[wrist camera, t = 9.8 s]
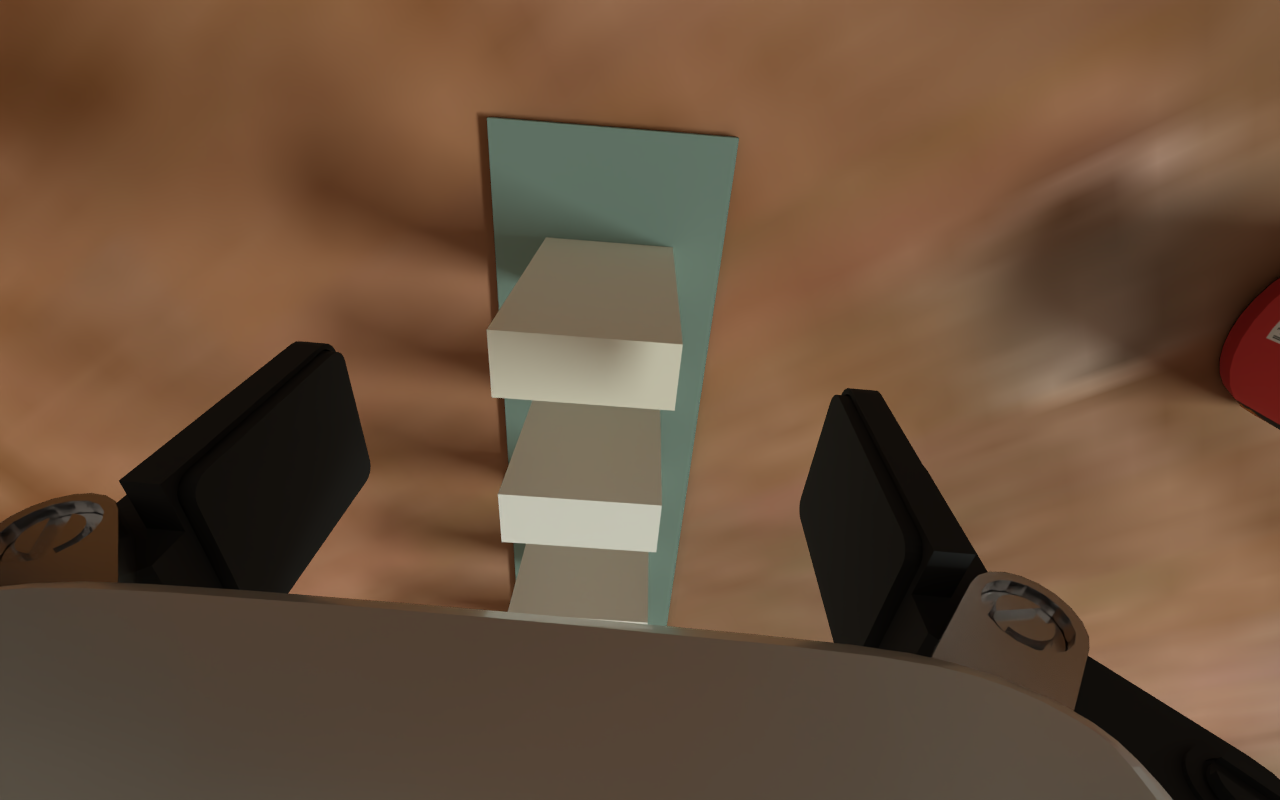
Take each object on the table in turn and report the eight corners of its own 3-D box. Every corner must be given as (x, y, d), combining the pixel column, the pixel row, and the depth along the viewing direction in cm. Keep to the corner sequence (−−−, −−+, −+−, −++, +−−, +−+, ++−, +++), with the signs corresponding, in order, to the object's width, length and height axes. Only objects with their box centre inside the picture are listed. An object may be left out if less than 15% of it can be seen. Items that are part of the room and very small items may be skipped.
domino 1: (546, 237, 22) (486, 329, 14) (672, 247, 22) (683, 344, 14) (546, 286, 23) (491, 397, 15) (667, 295, 23) (674, 410, 15)
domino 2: (547, 360, 25) (497, 494, 17) (659, 368, 25) (661, 505, 17) (547, 399, 26) (501, 541, 18) (655, 407, 26) (656, 552, 18)
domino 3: (548, 459, 27) (507, 613, 20) (649, 466, 28) (647, 622, 20) (549, 491, 28) (510, 648, 21) (646, 498, 29) (643, 657, 21)
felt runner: (489, 116, 20) (486, 117, 20) (737, 137, 20) (738, 138, 20) (522, 661, 36) (521, 667, 36) (659, 670, 37) (659, 675, 36)
